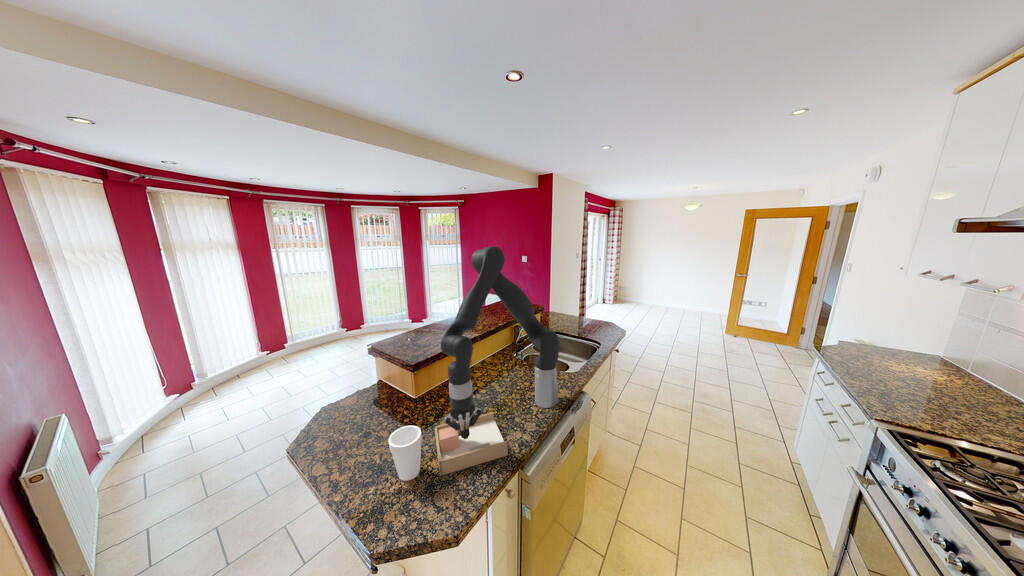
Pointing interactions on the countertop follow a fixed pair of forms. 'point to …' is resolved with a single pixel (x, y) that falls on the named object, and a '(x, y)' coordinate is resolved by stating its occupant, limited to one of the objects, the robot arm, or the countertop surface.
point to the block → (448, 439)
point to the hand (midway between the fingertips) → (465, 437)
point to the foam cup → (406, 451)
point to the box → (473, 446)
